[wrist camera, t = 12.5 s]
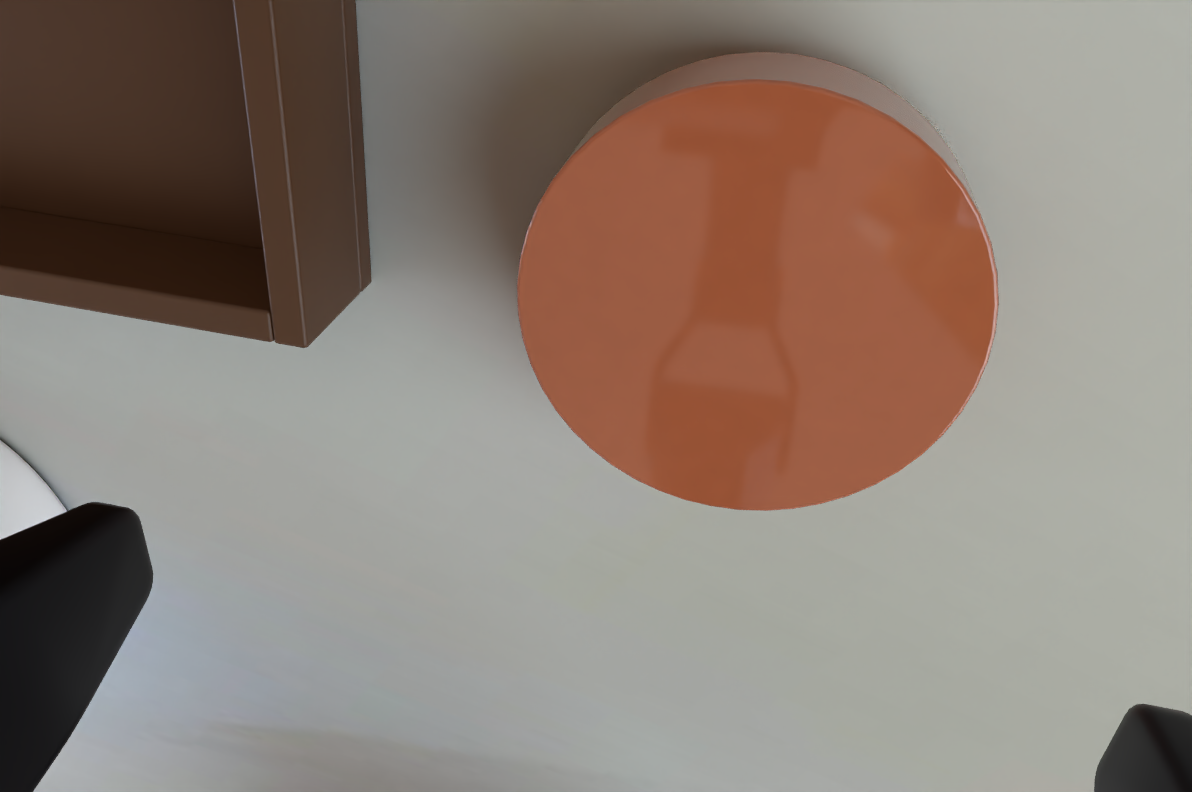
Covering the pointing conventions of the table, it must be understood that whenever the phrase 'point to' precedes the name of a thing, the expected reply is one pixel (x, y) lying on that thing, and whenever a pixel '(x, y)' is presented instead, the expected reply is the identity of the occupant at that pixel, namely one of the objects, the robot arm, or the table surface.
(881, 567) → the table surface
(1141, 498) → the table surface
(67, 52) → the tray
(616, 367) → the puck terracotta
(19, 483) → the mug
